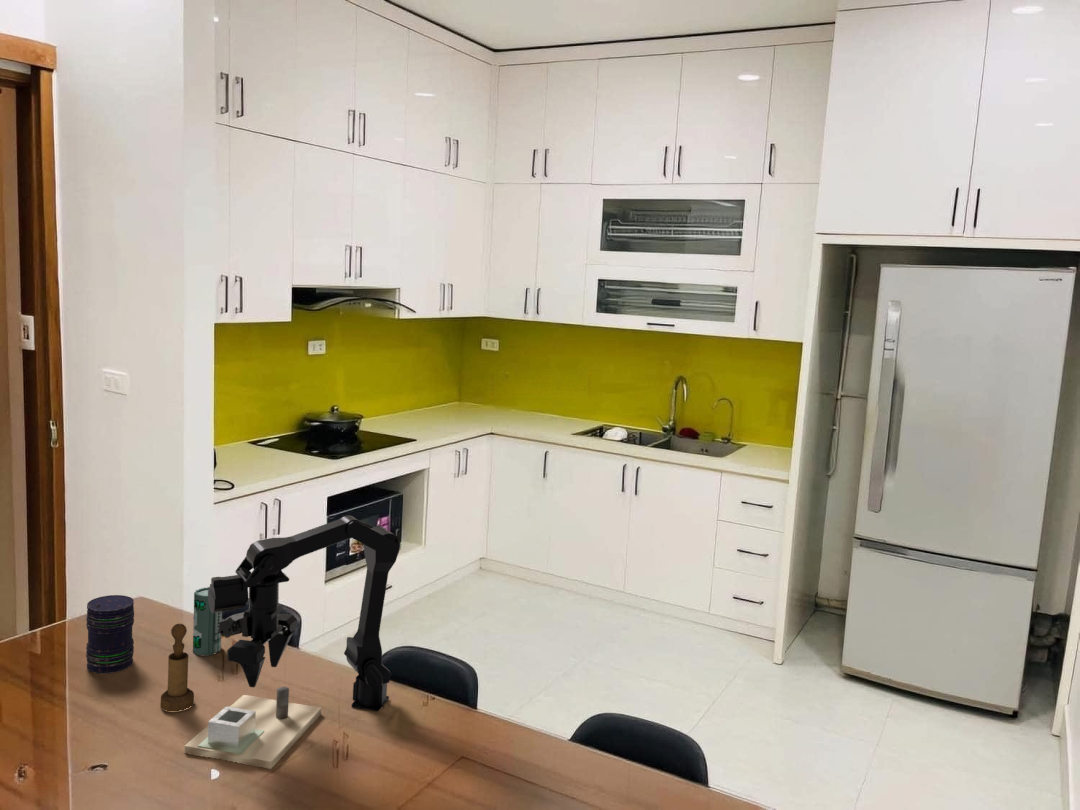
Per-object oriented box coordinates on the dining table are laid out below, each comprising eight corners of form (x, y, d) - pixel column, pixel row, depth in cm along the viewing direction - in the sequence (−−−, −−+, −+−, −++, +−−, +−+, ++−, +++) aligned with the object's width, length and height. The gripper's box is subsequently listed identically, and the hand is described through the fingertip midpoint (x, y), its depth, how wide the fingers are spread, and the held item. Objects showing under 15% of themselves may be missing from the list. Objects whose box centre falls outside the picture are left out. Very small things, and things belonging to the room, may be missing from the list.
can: (197, 645, 213) (199, 586, 211) (223, 645, 214) (224, 587, 212) (190, 655, 207) (191, 595, 205) (216, 656, 208) (218, 596, 206)
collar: (255, 732, 172) (255, 711, 171) (238, 748, 166) (238, 726, 165) (225, 727, 173) (226, 706, 173) (207, 743, 167) (208, 721, 166)
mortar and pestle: (181, 715, 180) (183, 633, 177) (153, 709, 181) (155, 628, 179) (200, 700, 186) (201, 621, 184) (173, 695, 188) (174, 616, 185)
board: (321, 714, 184) (322, 681, 183) (270, 769, 163) (272, 731, 162) (243, 701, 187) (244, 668, 186) (184, 753, 166) (185, 716, 165)
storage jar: (119, 651, 207) (120, 591, 205) (142, 664, 201) (143, 603, 199) (77, 664, 198) (77, 602, 196) (99, 678, 193) (100, 614, 191)
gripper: (249, 583, 184) (249, 652, 187) (201, 616, 166) (202, 692, 168) (298, 589, 183) (297, 659, 185) (255, 623, 164) (255, 700, 167)
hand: (263, 676), depth 176 cm, fingers open, 9 cm apart
